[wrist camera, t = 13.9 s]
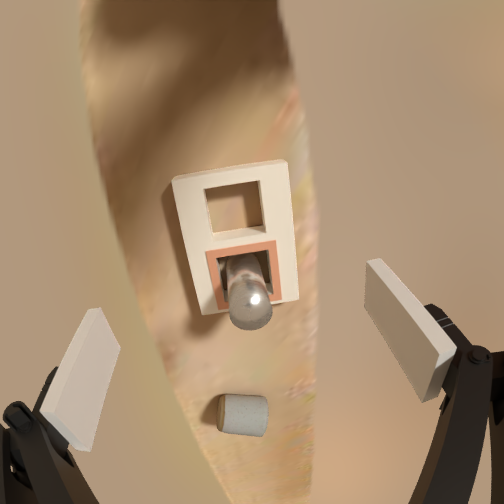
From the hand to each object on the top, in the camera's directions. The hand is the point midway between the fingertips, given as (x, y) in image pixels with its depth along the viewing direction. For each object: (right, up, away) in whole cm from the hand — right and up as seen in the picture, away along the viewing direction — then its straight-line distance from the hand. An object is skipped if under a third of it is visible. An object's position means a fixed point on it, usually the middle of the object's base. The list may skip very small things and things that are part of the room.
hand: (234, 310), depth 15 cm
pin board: (-1, +5, +26) cm, 26 cm away
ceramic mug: (-1, -25, +39) cm, 47 cm away
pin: (0, +1, +27) cm, 27 cm away
